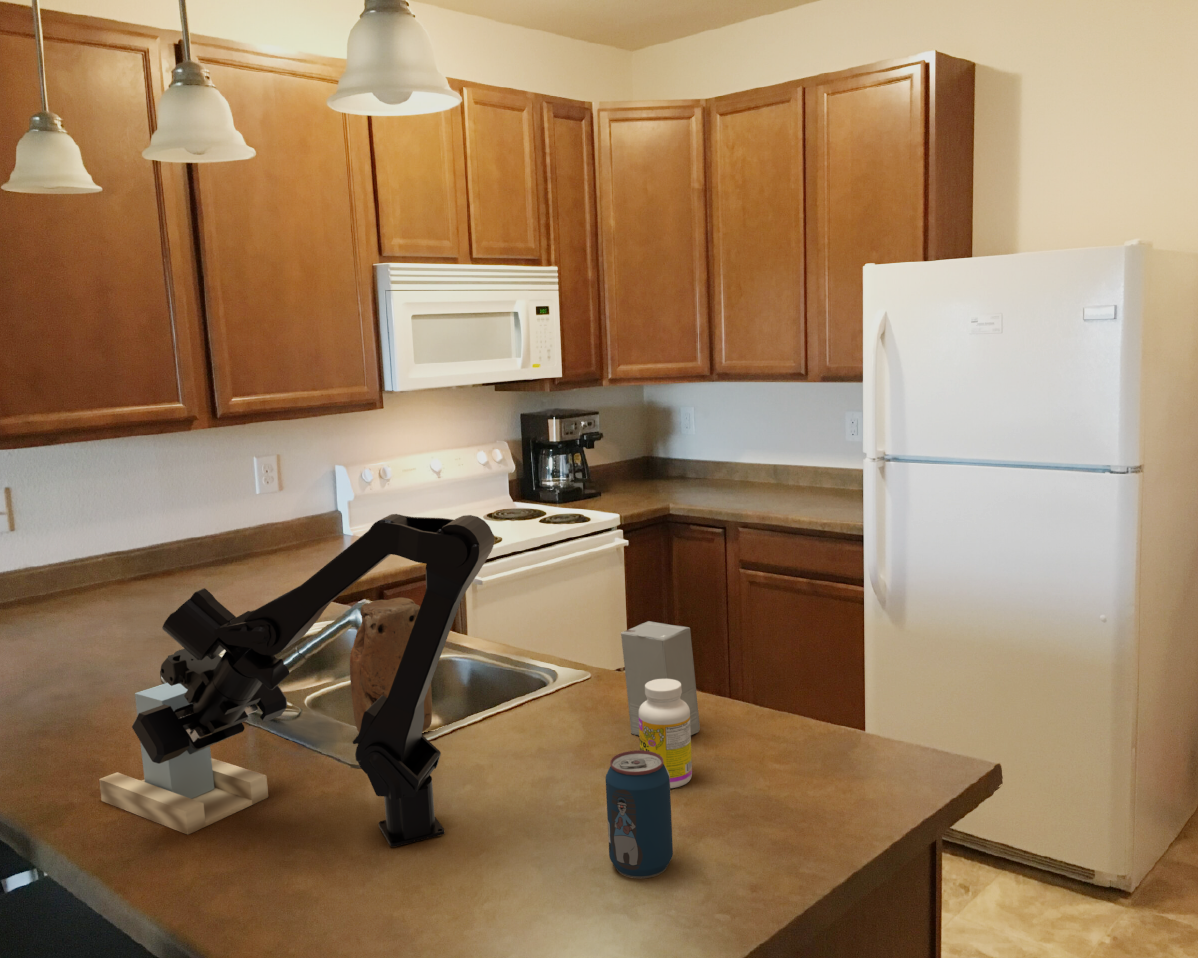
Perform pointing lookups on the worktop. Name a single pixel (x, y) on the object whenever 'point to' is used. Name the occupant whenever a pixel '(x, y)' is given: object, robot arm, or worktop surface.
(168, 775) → the grey rectangular block
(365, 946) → the worktop surface
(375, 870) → the worktop surface
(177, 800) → the chute
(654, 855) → the soda can
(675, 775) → the supplement bottle
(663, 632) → the skincare box
